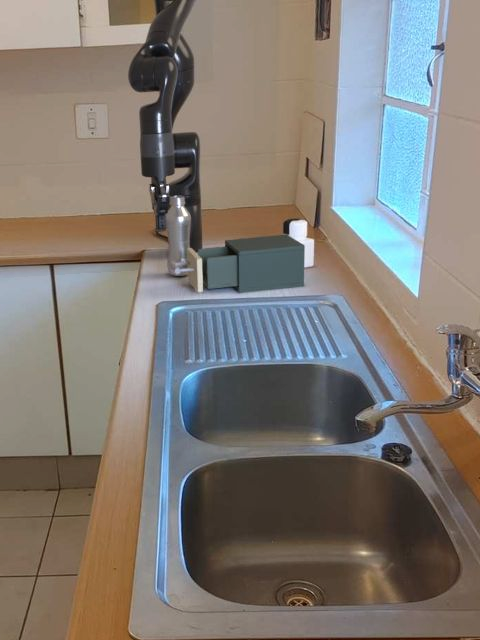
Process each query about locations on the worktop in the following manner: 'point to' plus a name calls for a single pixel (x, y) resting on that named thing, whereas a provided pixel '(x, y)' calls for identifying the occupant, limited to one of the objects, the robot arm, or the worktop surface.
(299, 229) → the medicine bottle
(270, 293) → the worktop surface
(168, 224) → the silver metal bottle
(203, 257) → the drawer
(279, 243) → the cabinet
